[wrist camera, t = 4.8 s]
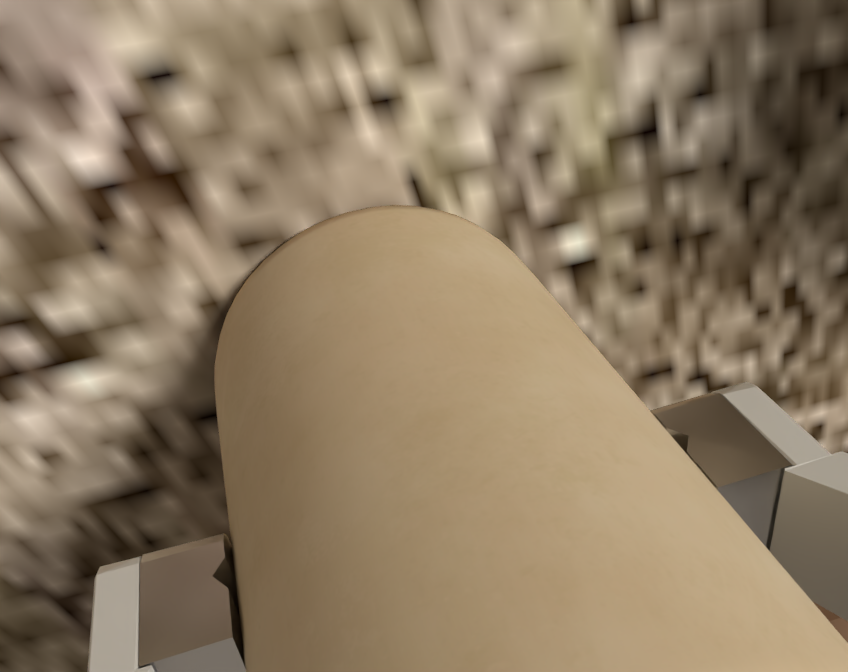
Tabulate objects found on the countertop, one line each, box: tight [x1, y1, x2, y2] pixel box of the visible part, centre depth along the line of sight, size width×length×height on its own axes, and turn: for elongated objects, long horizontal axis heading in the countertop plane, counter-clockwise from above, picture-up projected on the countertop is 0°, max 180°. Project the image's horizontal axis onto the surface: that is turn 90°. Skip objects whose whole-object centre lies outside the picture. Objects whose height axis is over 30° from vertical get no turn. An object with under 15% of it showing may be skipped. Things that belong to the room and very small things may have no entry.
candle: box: [214, 205, 848, 672], centre depth 9 cm, size 6×6×10 cm
